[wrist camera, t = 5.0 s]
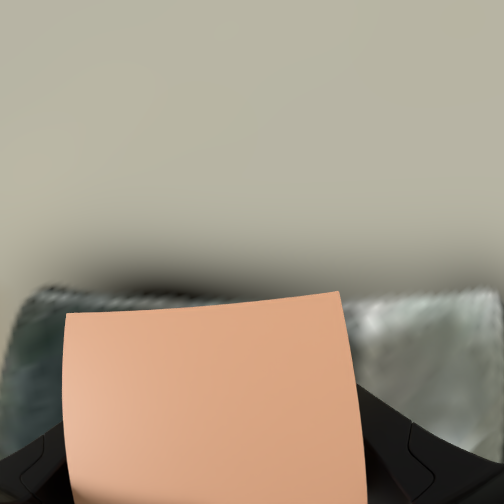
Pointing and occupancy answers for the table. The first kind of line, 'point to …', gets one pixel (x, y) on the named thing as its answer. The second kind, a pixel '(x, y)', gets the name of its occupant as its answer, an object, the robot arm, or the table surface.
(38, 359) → the table surface
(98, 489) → the post
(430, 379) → the table surface
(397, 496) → the robot arm
